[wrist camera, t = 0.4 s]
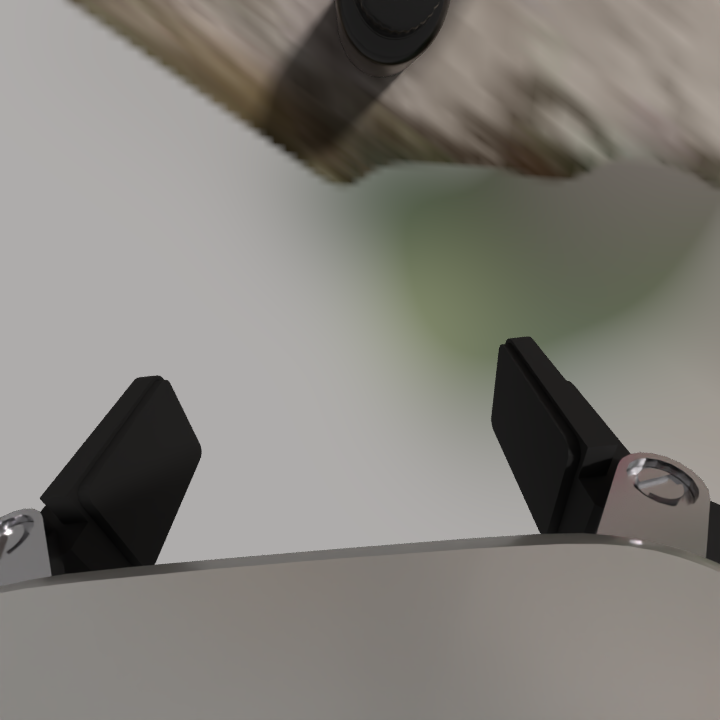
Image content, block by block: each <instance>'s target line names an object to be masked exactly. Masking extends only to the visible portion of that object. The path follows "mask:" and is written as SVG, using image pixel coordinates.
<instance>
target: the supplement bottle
mask: <svg viewBox="0 0 720 720" xmlns="http://www.w3.org/2000/svg"><path fill="white" fill-rule="evenodd" d="M449 3H450V0H335V4H336V15H337V25H338V32H339V36H340V40H341V43H342V46H343V49H344V51H345V53H346V55H347V56H348V58H349V59H350V60H351V62H352V63H353V64H354V65H355V66H356V67H357V68H358V69H359V70H361V71H362V72H364V73H366V74H368V75H370V76H374V77H389V76H393V75H395V74H397V73H399V72H401V71H403V70H404V69H405V68H407V67H408V66H409V65H410V64H411V63H412V62H414V61H415V60H416V59H417V58H418V57H419V56H420V55H421V54H422V53H423V52H424V51H425V50H426V49H427V48H428V47H429V46H430V45H431V44H432V42H433V41H434V39H435V38H436V36H437V35H438V33H439V31H440V29H441V27H442V25H443V23H444V20H445V18H446V15H447V11H448V8H449Z"/></svg>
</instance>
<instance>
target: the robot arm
mask: <svg viewBox="0 0 720 720" xmlns="http://www.w3.org/2000/svg"><path fill="white" fill-rule="evenodd" d="M491 422H492V427H493V430H494V432H495V435H496V437H497V439H498V441H499V443H500V445H501V448H502V450H503V452H504V455H505V457H506V459H507V461H508V463H509V466H510V468H511V470H512V472H513V474H514V477H515V479H516V481H517V483H518V485H519V488H520V490H521V492H522V494H523V496H524V499H525V501H526V503H527V505H528V508H529V510H530V512H531V514H532V516H533V519H534V520H535V523H536V525H537V527H538V530H539V531H540V533H541V534H533V535H517V536H501V537H485V538H470V539H457V540H445V541H432V542H419V543H406V544H394V545H382V546H368V547H357V548H344V549H332V550H320V551H308V552H296V553H285V554H273V555H261V556H249V557H237V558H226V559H215V560H204V561H192V562H182V563H170V564H159V565H155V563H156V560H157V558H158V556H159V554H160V551H161V549H162V546H163V544H164V542H165V540H166V537H167V535H168V533H169V530H170V528H171V526H172V523H173V521H174V519H175V516H176V514H177V512H178V509H179V507H180V505H181V502H182V500H183V498H184V495H185V493H186V491H187V488H188V486H189V484H190V481H191V479H192V477H193V475H194V472H195V470H196V468H197V465H198V463H199V461H200V458H201V446H200V443H199V441H198V439H197V437H196V435H195V433H194V431H193V429H192V427H191V425H190V423H189V421H188V419H187V417H186V415H185V413H184V411H183V409H182V407H181V405H180V402H179V401H178V398H177V396H176V394H175V392H174V391H173V388H172V386H171V384H170V382H169V381H168V380H164V379H163V378H162V377H161V376H148V377H139V378H137V379H135V380H134V381H133V382H132V384H131V385H130V386H129V387H128V389H127V390H126V391H125V392H124V394H123V395H122V396H121V397H120V399H119V400H118V401H117V403H116V404H115V405H114V406H113V407H112V409H111V410H110V411H109V413H108V414H107V415H106V416H105V417H104V419H103V420H102V421H101V422H100V424H99V425H98V426H97V427H96V429H95V430H94V431H93V432H92V434H91V435H90V436H89V437H88V439H87V440H86V441H85V442H84V443H83V445H82V446H81V447H80V448H79V450H78V451H77V452H76V454H75V455H74V456H73V457H72V458H71V460H70V461H69V462H68V464H67V465H66V466H65V467H64V468H63V470H62V471H61V472H60V473H59V475H58V476H57V477H56V478H55V480H54V481H53V482H52V483H51V485H50V486H49V487H48V488H47V490H46V491H45V492H44V493H43V495H42V496H41V497H40V499H41V500H42V502H43V503H44V504H45V505H46V506H45V507H44V508H43V509H42V511H41V512H39V511H37V510H35V509H22V510H18V511H14V512H12V513H9V514H7V515H5V516H3V517H1V518H0V720H720V505H719V504H716V503H714V502H712V501H710V495H709V490H708V488H707V487H706V485H705V483H704V482H703V480H702V479H701V478H700V477H699V476H698V475H696V474H695V473H694V472H693V471H692V470H691V469H689V468H687V467H686V466H684V465H683V464H681V463H680V462H677V461H675V460H673V459H670V458H668V457H665V456H661V455H657V454H653V453H641V452H640V453H634V454H630V453H629V451H628V450H627V449H626V448H625V447H624V445H623V444H622V443H621V442H620V440H618V438H617V437H616V436H615V434H614V433H613V432H612V431H611V430H610V428H609V427H608V426H607V425H606V423H605V422H604V421H603V420H602V419H601V417H600V416H599V415H598V414H597V413H596V411H595V410H594V409H593V408H592V407H591V405H590V404H589V403H588V402H587V400H586V399H585V398H584V397H583V396H582V394H581V393H580V392H579V391H578V389H577V388H576V387H575V386H574V385H573V384H572V383H571V382H570V381H567V380H565V379H564V377H563V376H562V375H561V374H560V372H559V371H558V370H557V369H556V367H555V366H554V365H553V364H552V362H551V361H550V360H549V359H548V358H547V356H546V355H545V354H544V353H543V351H542V350H541V349H540V348H539V346H538V345H537V344H536V343H535V341H534V340H533V339H532V338H531V337H519V338H510V339H507V341H506V343H505V344H502V345H500V347H499V353H498V362H497V371H496V380H495V389H494V398H493V407H492V416H491Z"/></svg>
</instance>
